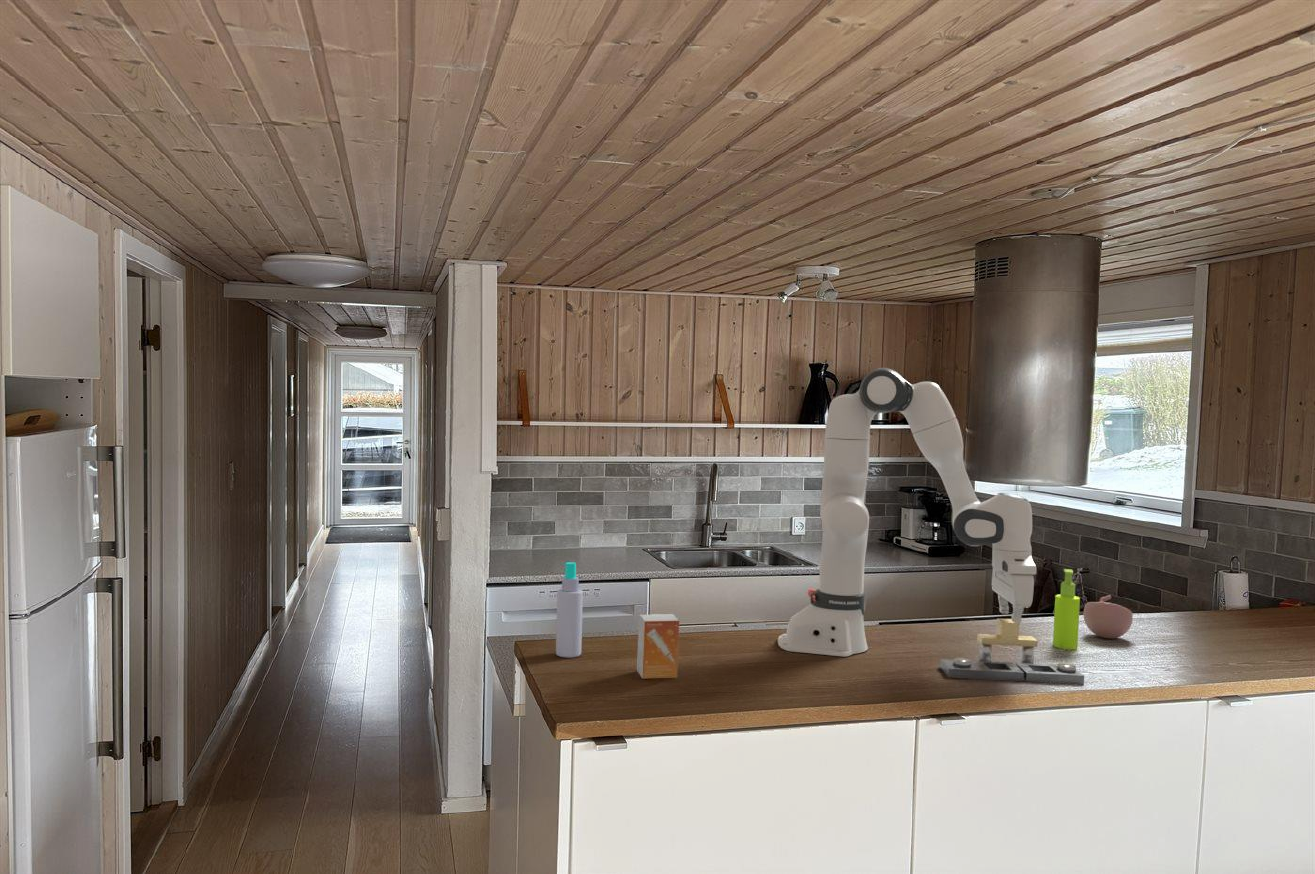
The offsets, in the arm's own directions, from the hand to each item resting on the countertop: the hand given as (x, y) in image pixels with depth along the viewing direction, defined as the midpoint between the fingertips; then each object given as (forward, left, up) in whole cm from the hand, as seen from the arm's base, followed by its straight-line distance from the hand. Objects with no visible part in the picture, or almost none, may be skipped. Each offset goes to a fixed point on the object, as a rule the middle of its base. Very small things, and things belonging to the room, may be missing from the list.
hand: (1010, 617), depth 223 cm
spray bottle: (-105, -11, -12) cm, 107 cm away
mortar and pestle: (+36, +31, -12) cm, 49 cm away
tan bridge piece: (0, 0, -11) cm, 11 cm away
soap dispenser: (+21, +20, -12) cm, 31 cm away
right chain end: (+6, -10, -11) cm, 16 cm away
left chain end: (-9, -10, -11) cm, 18 cm away
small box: (-83, -23, -12) cm, 87 cm away
